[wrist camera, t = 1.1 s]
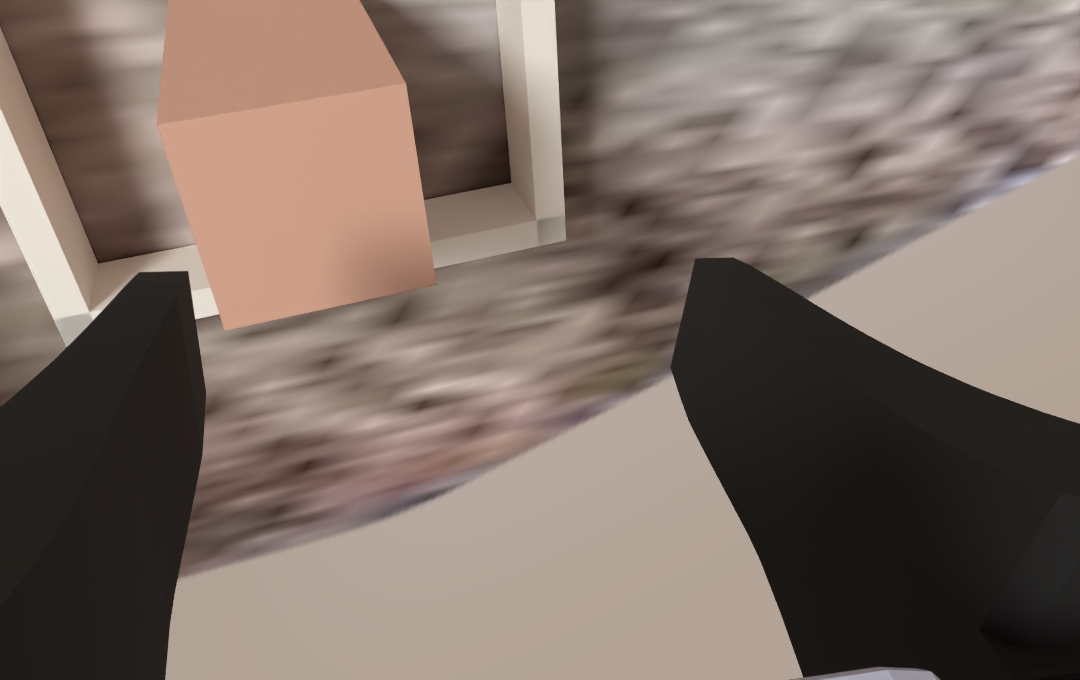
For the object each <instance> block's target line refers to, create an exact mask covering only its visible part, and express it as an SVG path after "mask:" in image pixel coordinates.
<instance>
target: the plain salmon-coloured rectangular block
mask: <svg viewBox="0 0 1080 680" xmlns="http://www.w3.org/2000/svg"><path fill="white" fill-rule="evenodd" d="M157 128H158V131H159V134H160V137H161V140H162V143H163V146H164V149H165V152H166V155H167V158H168V161H169V164H170V167H171V170H172V173H173V176H174V179H175V182H176V185H177V188H178V191H179V194H180V197H181V200H182V203H183V206H184V209H185V212H186V215H187V218H188V221H189V224H190V227H191V230H192V233H193V236H194V239H195V242H196V245H197V248H198V251H199V254H200V257H201V260H202V263H203V266H204V269H205V272H206V275H207V278H208V282H209V285H210V288H211V291H212V294H213V297H214V300H215V303H216V306H217V309H218V312H219V315H220V318H221V321H222V324H223V327H224V330H230V329H234V328H239V327H243V326H248V325H253V324H257V323H262V322H267V321H271V320H276V319H280V318H285V317H290V316H294V315H299V314H304V313H308V312H313V311H318V310H322V309H327V308H331V307H336V306H341V305H345V304H350V303H355V302H359V301H364V300H368V299H373V298H378V297H382V296H387V295H392V294H396V293H401V292H406V291H410V290H415V289H419V288H424V287H429V286H433V285H437V283H436V276H435V270H434V263H433V257H432V250H431V244H430V237H429V231H428V224H427V218H426V211H425V204H424V198H423V191H422V185H421V178H420V172H419V165H418V159H417V152H416V146H415V139H414V132H413V126H412V119H411V113H410V106H409V100H408V93H407V87H406V83H405V81H404V79H403V77H402V75H401V74H400V72H399V70H398V68H397V66H396V65H395V63H394V61H393V59H392V57H391V56H390V54H389V52H388V50H387V48H386V47H385V45H384V43H383V41H382V39H381V38H380V36H379V34H378V32H377V30H376V29H375V27H374V25H373V23H372V21H371V20H370V18H369V16H368V14H367V12H366V11H365V9H364V7H363V5H362V3H361V2H360V0H169V3H168V13H167V23H166V34H165V44H164V54H163V64H162V75H161V85H160V95H159V106H158V116H157Z"/></svg>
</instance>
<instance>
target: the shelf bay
mask: <svg viewBox="0 0 1080 680" xmlns="http://www.w3.org/2000/svg"><path fill="white" fill-rule="evenodd" d="M496 10H497V22H498V33H499V45H500V56H501V68H502V79H503V91H504V102H505V114H506V125H507V137H508V148H509V160H510V171H511V183H508V184H503V185H498V186H493V187H488V188H483V189H477V190H472V191H467V192H462V193H457V194H452V195H447V196H442V197H437V198H431V199H426V200H424V204H425V211H426V218H427V224H428V231H429V237H430V244H431V250H432V257H433V263H434V269H435V268H439V267H444V266H449V265H454V264H458V263H463V262H468V261H472V260H477V259H482V258H487V257H491V256H496V255H501V254H505V253H510V252H515V251H520V250H524V249H529V248H534V247H538V246H543V245H548V244H553V243H557V242H562V241H566V226H565V205H564V185H563V165H562V144H561V124H560V103H559V83H558V63H557V42H556V22H555V2H554V0H496ZM0 206H1V208H2V210H3V212H4V214H5V216H6V219H7V221H8V223H9V225H10V227H11V229H12V231H13V234H14V236H15V238H16V240H17V242H18V244H19V246H20V249H21V251H22V253H23V255H24V257H25V259H26V261H27V264H28V266H29V268H30V270H31V272H32V274H33V276H34V279H35V281H36V283H37V285H38V287H39V289H40V291H41V293H42V296H43V298H44V300H45V302H46V304H47V306H48V308H49V311H50V313H51V315H52V317H53V319H54V321H55V323H56V326H57V328H58V330H59V332H60V334H61V336H62V338H63V341H64V343H65V345H66V347H67V346H69V345H70V344H71V343H72V342H73V341H74V340H75V339H76V338H77V337H78V336H79V335H80V334H81V333H82V332H83V330H84V329H85V328H86V327H87V326H88V325H89V324H90V323H91V322H92V321H93V320H94V319H95V318H96V317H97V316H98V315H99V314H100V313H101V311H102V310H103V309H104V308H105V307H106V306H107V305H108V304H109V303H110V302H111V301H112V300H113V298H114V297H115V296H116V295H117V294H118V293H119V292H120V291H121V290H122V289H123V288H124V287H125V285H126V284H127V283H128V282H129V281H130V280H131V279H132V278H133V277H134V276H135V275H136V274H137V273H139V272H164V271H188V273H189V280H190V287H191V294H192V301H193V308H194V314H195V319H199V318H204V317H209V316H213V315H218V314H219V312H218V309H217V306H216V303H215V300H214V297H213V294H212V291H211V288H210V285H209V282H208V278H207V275H206V272H205V269H204V266H203V263H202V260H201V257H200V254H199V251H198V248H197V245H191V246H186V247H181V248H176V249H170V250H165V251H160V252H155V253H150V254H145V255H140V256H135V257H130V258H124V259H119V260H114V261H109V262H104V263H99V264H98V262H97V260H96V257H95V255H94V253H93V250H92V248H91V245H90V243H89V241H88V238H87V236H86V233H85V231H84V228H83V226H82V224H81V221H80V219H79V216H78V214H77V211H76V209H75V207H74V204H73V202H72V199H71V197H70V194H69V192H68V190H67V187H66V185H65V182H64V180H63V178H62V175H61V173H60V170H59V168H58V165H57V163H56V161H55V158H54V156H53V153H52V151H51V148H50V146H49V144H48V141H47V139H46V136H45V134H44V131H43V129H42V127H41V124H40V122H39V119H38V117H37V115H36V112H35V110H34V107H33V105H32V102H31V100H30V98H29V95H28V93H27V90H26V88H25V85H24V83H23V81H22V78H21V76H20V73H19V71H18V69H17V66H16V64H15V61H14V59H13V56H12V54H11V52H10V49H9V47H8V44H7V42H6V39H5V37H4V35H3V32H2V30H1V27H0Z"/></svg>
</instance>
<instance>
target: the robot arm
mask: <svg viewBox="0 0 1080 680" xmlns="http://www.w3.org/2000/svg"><path fill="white" fill-rule="evenodd" d="M671 370H672V373H673V376H674V379H675V382H676V385H677V389H678V392H679V395H680V398H681V401H682V403H683V406H684V409H685V412H686V414H687V417H688V420H689V422H690V424H691V426H692V428H693V430H694V432H695V434H696V436H697V438H698V440H699V442H700V444H701V446H702V448H703V450H704V452H705V454H706V456H707V457H708V459H709V461H710V463H711V465H712V467H713V469H714V471H715V473H716V475H717V477H718V478H719V480H720V482H721V484H722V486H723V488H724V490H725V492H726V494H727V495H728V497H729V499H730V501H731V503H732V505H733V507H734V509H735V511H736V512H737V514H738V516H739V518H740V520H741V522H742V524H743V526H744V528H745V529H746V531H747V533H748V535H749V537H750V539H751V542H752V544H753V546H754V548H755V550H756V552H757V554H758V556H759V559H760V561H761V563H762V566H763V569H764V571H765V574H766V576H767V579H768V581H769V584H770V587H771V589H772V592H773V594H774V597H775V600H776V602H777V605H778V607H779V610H780V612H781V615H782V618H783V621H784V624H785V626H786V629H787V632H788V635H789V638H790V641H791V643H792V646H793V649H794V652H795V655H796V657H797V660H798V663H799V666H800V669H801V672H802V675H803V678H798V679H792V680H1080V424H1078V423H1075V422H1072V421H1069V420H1065V419H1062V418H1059V417H1056V416H1053V415H1050V414H1046V413H1043V412H1041V411H1038V410H1035V409H1032V408H1029V407H1027V406H1024V405H1021V404H1018V403H1015V402H1013V401H1010V400H1007V399H1005V398H1002V397H999V396H996V395H993V394H991V393H989V392H986V391H984V390H981V389H979V388H976V387H973V386H971V385H969V384H966V383H964V382H962V381H960V380H957V379H955V378H953V377H951V376H948V375H946V374H944V373H942V372H939V371H937V370H935V369H933V368H931V367H928V366H926V365H924V364H922V363H920V362H918V361H916V360H913V359H912V358H909V357H908V356H906V355H904V354H902V353H900V352H898V351H896V350H894V349H892V348H891V347H889V346H887V345H885V344H883V343H881V342H879V341H877V340H876V339H874V338H872V337H870V336H868V335H866V334H865V333H863V332H861V331H859V330H857V329H856V328H854V327H852V326H850V325H848V324H847V323H845V322H844V321H842V320H840V319H838V318H837V317H835V316H833V315H832V314H830V313H828V312H827V311H825V310H823V309H822V308H820V307H818V306H817V305H815V304H813V303H812V302H810V301H809V300H807V299H805V298H804V297H802V296H800V295H799V294H797V293H795V292H794V291H792V290H791V289H789V288H787V287H786V286H784V285H782V284H781V283H779V282H777V281H776V280H774V279H772V278H771V277H769V276H767V275H765V274H764V273H762V272H760V271H759V270H757V269H755V268H753V267H751V266H749V265H747V264H746V263H744V262H741V261H739V260H737V259H735V258H696V259H695V263H694V267H693V272H692V276H691V280H690V285H689V289H688V293H687V298H686V302H685V307H684V311H683V315H682V320H681V324H680V328H679V333H678V337H677V341H676V346H675V350H674V354H673V359H672V363H671ZM205 401H206V389H205V383H204V376H203V369H202V362H201V355H200V348H199V342H198V335H197V328H196V321H195V314H194V308H193V301H192V294H191V287H190V280H189V273H188V271H164V272H139V273H137V274H136V275H135V276H134V277H133V278H132V279H131V280H130V281H129V282H128V283H127V284H126V285H125V287H124V288H123V289H122V290H121V291H120V292H119V293H118V294H117V295H116V296H115V297H114V298H113V300H112V301H111V302H110V303H109V304H108V305H107V306H106V307H105V308H104V309H103V310H102V311H101V313H100V314H99V315H98V316H97V317H96V318H95V319H94V320H93V321H92V322H91V323H90V324H89V325H88V326H87V327H86V328H85V329H84V330H83V332H82V333H81V334H80V335H79V336H78V337H77V338H76V339H75V340H74V341H73V342H72V343H71V344H70V345H69V346H68V347H67V348H66V349H65V350H64V351H63V352H62V353H61V354H60V355H59V356H58V357H57V358H56V359H55V360H54V361H52V362H51V363H50V364H49V365H48V366H47V367H46V368H45V369H44V370H43V371H42V372H40V373H39V374H38V375H37V376H36V377H35V378H34V379H33V380H31V381H30V382H29V383H28V384H27V385H26V386H25V387H24V388H23V389H21V390H20V391H19V392H18V393H17V394H16V395H15V396H14V397H12V398H11V399H10V400H9V401H7V402H6V403H5V404H4V405H2V406H1V407H0V680H165V674H166V662H167V651H168V639H169V628H170V619H171V613H172V607H173V600H174V593H175V588H176V583H177V578H178V574H179V569H180V564H181V559H182V554H183V549H184V544H185V539H186V534H187V529H188V524H189V519H190V515H191V510H192V505H193V500H194V495H195V490H196V485H197V479H198V474H199V469H200V464H201V459H202V451H203V436H204V420H205Z"/></svg>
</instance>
